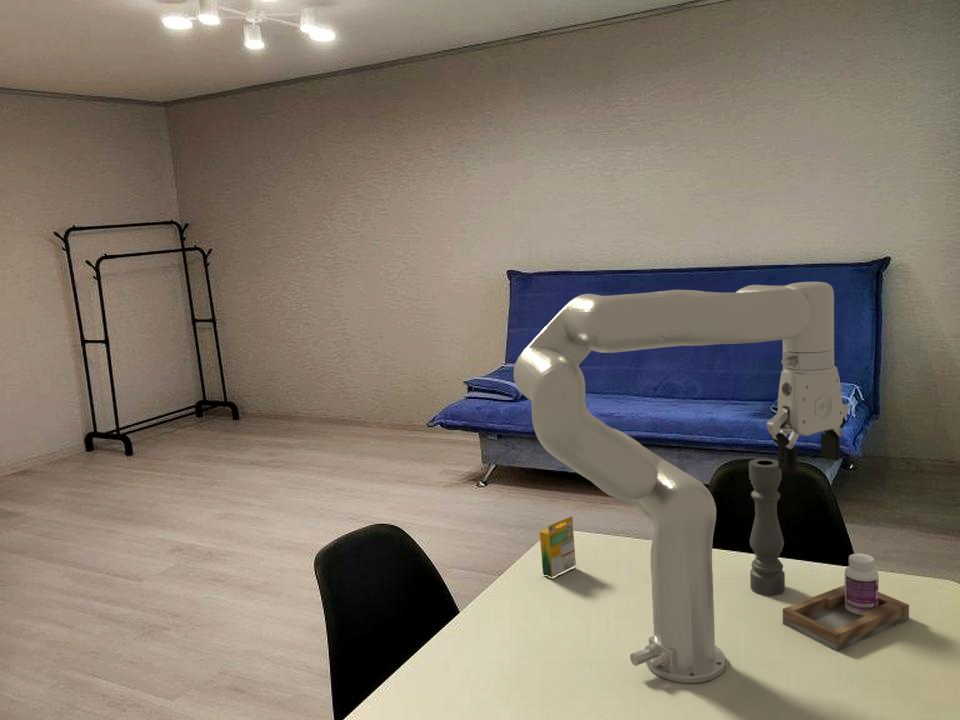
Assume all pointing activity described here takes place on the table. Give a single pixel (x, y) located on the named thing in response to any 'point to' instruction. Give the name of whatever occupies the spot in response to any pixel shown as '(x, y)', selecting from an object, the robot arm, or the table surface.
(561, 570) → the crayon box
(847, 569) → the pill bottle
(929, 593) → the table surface
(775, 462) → the candle holder
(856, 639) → the brown wooden tray
